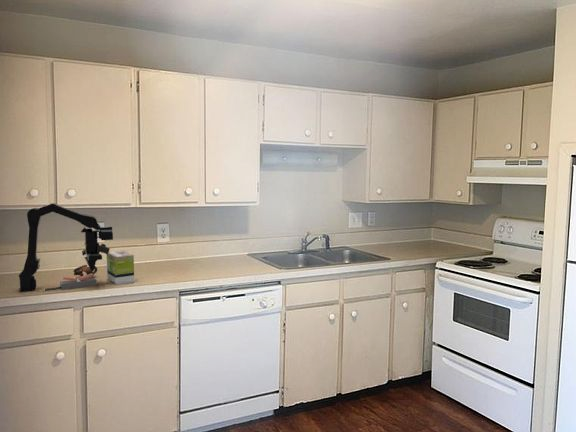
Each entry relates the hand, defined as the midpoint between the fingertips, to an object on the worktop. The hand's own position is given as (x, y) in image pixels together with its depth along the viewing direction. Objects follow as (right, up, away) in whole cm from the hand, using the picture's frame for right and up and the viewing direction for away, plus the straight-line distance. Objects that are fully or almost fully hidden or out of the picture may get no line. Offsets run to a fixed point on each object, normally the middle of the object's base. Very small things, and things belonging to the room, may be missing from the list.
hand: (92, 271), depth 238 cm
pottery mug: (-10, -6, +15) cm, 19 cm away
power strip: (-9, -7, -5) cm, 12 cm away
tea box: (+11, -6, +10) cm, 16 cm away
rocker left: (-9, -3, -6) cm, 11 cm away
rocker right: (-2, -3, -1) cm, 4 cm away
